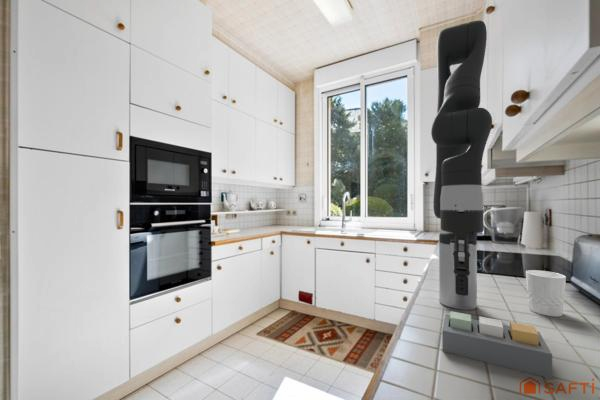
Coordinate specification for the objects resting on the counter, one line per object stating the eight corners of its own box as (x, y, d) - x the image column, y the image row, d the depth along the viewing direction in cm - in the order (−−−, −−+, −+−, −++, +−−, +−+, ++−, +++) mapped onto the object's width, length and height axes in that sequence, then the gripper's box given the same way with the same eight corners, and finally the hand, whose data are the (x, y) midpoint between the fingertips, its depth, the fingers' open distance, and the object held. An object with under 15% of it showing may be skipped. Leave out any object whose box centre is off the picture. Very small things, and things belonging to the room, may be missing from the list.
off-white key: (479, 326, 55) (479, 316, 55) (501, 330, 53) (500, 320, 53) (479, 333, 52) (479, 323, 52) (503, 338, 50) (503, 327, 50)
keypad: (445, 331, 61) (445, 313, 61) (539, 352, 52) (539, 331, 52) (442, 350, 53) (442, 330, 53) (552, 378, 45) (552, 354, 45)
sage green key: (450, 320, 58) (450, 311, 58) (470, 324, 56) (470, 314, 56) (450, 327, 55) (450, 317, 55) (471, 331, 53) (471, 321, 53)
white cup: (524, 311, 72) (523, 273, 72) (527, 303, 78) (527, 268, 78) (565, 320, 66) (565, 279, 66) (566, 311, 72) (566, 273, 72)
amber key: (509, 332, 53) (509, 322, 53) (534, 337, 51) (534, 326, 51) (512, 340, 50) (512, 329, 50) (538, 346, 48) (538, 334, 48)
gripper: (442, 208, 63) (442, 283, 63) (438, 208, 52) (438, 300, 51) (481, 208, 59) (482, 288, 59) (485, 208, 48) (486, 308, 47)
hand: (461, 294), depth 55 cm, fingers closed
